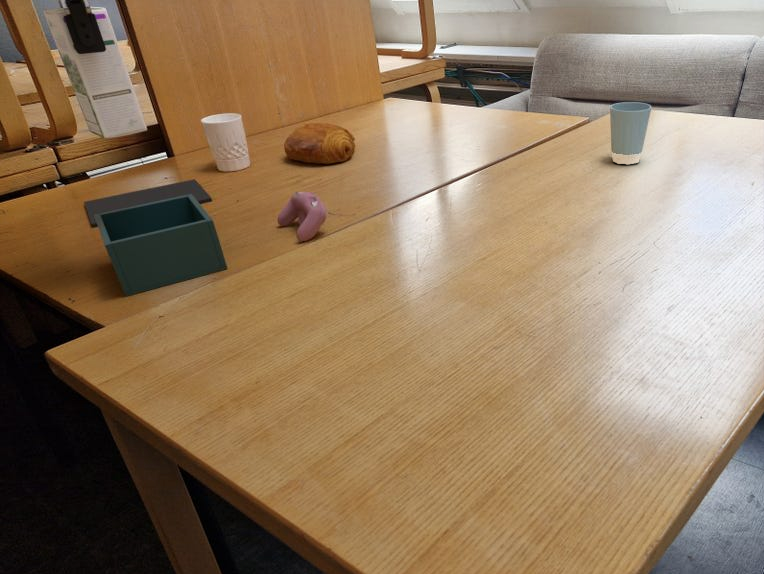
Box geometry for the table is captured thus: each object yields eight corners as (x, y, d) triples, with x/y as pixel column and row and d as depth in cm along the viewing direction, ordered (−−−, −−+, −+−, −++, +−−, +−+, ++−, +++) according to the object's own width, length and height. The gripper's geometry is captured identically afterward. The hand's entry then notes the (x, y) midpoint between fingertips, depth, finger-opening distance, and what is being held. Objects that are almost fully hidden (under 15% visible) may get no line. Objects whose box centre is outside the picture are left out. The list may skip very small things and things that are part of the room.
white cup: (261, 164, 132) (249, 115, 126) (231, 174, 126) (217, 124, 121) (236, 159, 135) (224, 112, 130) (207, 169, 130) (192, 120, 124)
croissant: (328, 180, 127) (324, 142, 122) (273, 160, 133) (267, 123, 128) (372, 159, 137) (371, 123, 132) (320, 141, 143) (316, 106, 138)
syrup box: (149, 130, 82) (109, 5, 74) (103, 140, 79) (55, 10, 71) (132, 124, 86) (92, 4, 77) (87, 133, 82) (40, 8, 74)
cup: (604, 166, 120) (609, 110, 114) (606, 155, 126) (610, 101, 121) (644, 168, 119) (651, 111, 113) (644, 156, 125) (650, 102, 119)
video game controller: (323, 247, 98) (335, 204, 96) (296, 242, 95) (308, 197, 93) (300, 228, 104) (310, 188, 102) (274, 223, 101) (284, 181, 99)
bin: (126, 296, 83) (104, 245, 79) (113, 262, 93) (93, 214, 88) (227, 269, 89) (212, 219, 85) (206, 239, 99) (191, 193, 94)
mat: (92, 227, 105) (91, 224, 105) (84, 204, 115) (83, 201, 115) (212, 201, 114) (211, 197, 113) (195, 182, 123) (194, 179, 123)
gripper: (-14, -127, 71) (52, 45, 81) (-20, -145, 59) (58, 61, 69) (60, -126, 74) (114, 40, 84) (69, -143, 62) (131, 53, 72)
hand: (89, 48), depth 76 cm, fingers closed on syrup box, 6 cm apart
